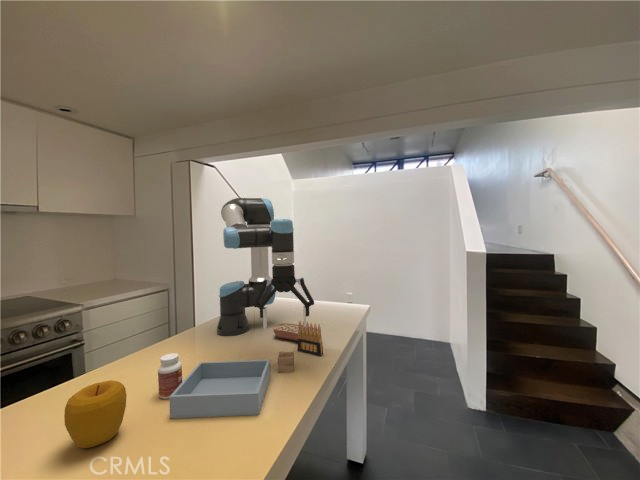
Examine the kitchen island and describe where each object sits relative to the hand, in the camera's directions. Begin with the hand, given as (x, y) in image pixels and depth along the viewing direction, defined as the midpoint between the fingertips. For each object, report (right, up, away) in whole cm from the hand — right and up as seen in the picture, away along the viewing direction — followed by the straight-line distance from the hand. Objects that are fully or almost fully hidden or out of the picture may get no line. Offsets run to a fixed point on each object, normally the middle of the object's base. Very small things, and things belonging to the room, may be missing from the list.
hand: (285, 326), depth 92 cm
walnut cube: (0, -15, +1) cm, 15 cm away
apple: (-39, -17, -30) cm, 52 cm away
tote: (-15, -16, -14) cm, 26 cm away
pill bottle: (-32, -16, -12) cm, 38 cm away
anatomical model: (+2, -15, +26) cm, 30 cm away
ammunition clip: (+8, -15, +13) cm, 21 cm away
